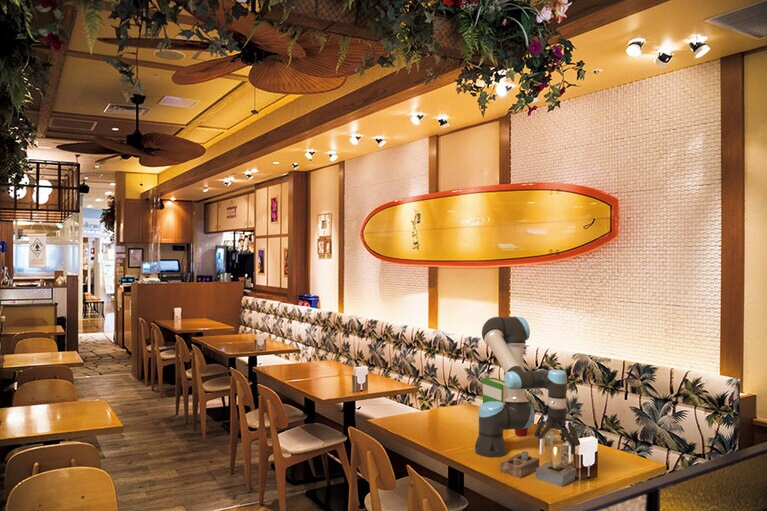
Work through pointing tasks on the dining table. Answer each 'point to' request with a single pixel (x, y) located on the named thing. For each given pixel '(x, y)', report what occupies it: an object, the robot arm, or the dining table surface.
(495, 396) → the hardback book
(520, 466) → the box
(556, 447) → the translucent yellow cylinder
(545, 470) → the socket block
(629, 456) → the dining table surface
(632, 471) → the dining table surface
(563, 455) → the figurine
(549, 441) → the valve
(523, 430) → the plastic cup
